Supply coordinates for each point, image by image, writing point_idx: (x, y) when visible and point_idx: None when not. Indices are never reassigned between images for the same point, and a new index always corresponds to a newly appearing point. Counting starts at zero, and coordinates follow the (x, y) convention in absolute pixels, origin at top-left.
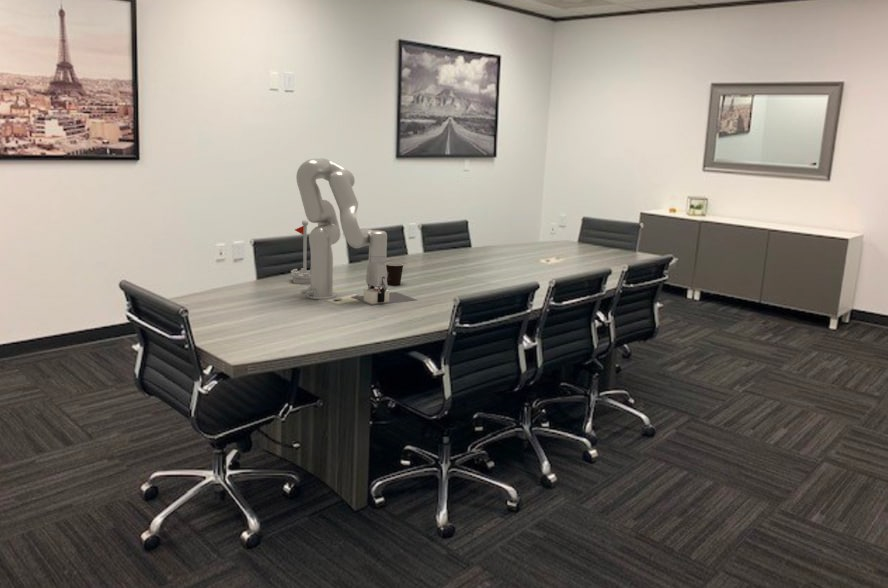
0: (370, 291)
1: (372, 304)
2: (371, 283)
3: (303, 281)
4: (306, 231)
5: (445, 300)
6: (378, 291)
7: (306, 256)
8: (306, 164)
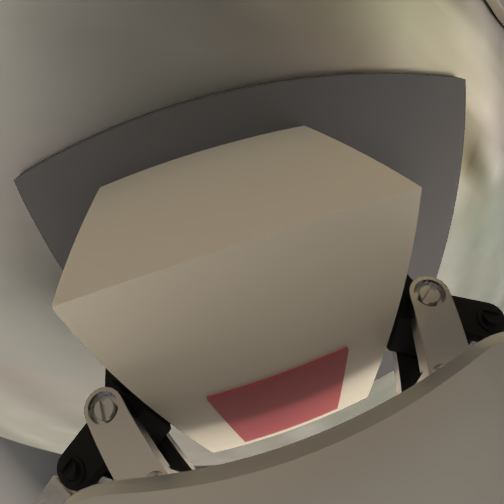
0: (187, 299)
1: (78, 197)
2: (330, 495)
3: None
4: None
5: (216, 464)
6: (126, 409)
7: None
8: None
